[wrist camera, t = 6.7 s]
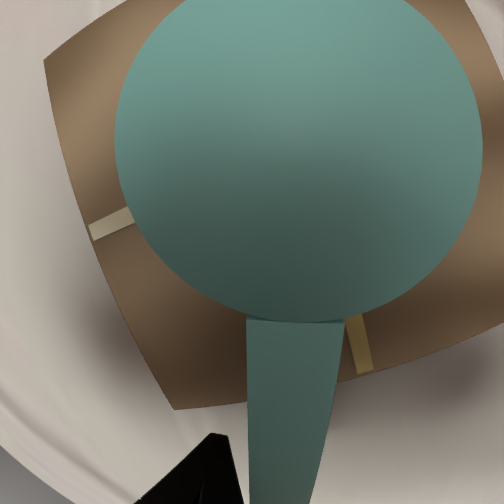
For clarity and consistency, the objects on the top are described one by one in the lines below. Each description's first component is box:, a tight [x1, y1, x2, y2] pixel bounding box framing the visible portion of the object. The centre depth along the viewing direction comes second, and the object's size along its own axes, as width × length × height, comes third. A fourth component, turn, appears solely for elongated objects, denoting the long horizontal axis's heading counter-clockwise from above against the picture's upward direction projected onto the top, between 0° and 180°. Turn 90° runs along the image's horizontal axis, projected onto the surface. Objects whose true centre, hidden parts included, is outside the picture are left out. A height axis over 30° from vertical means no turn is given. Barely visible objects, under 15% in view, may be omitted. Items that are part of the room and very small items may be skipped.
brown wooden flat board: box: [44, 0, 504, 410], centre depth 9 cm, size 16×16×1 cm
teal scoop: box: [114, 0, 483, 504], centre depth 7 cm, size 15×6×5 cm, turn 0°
